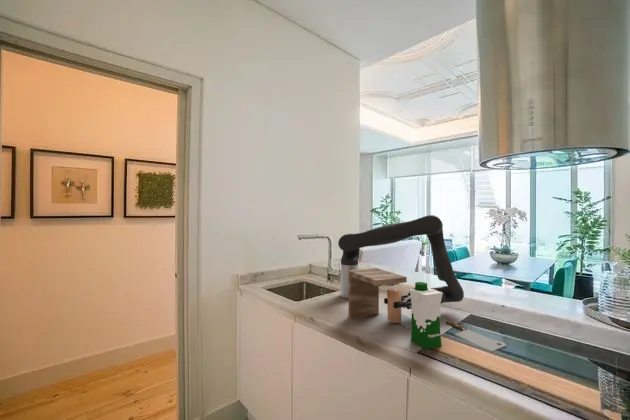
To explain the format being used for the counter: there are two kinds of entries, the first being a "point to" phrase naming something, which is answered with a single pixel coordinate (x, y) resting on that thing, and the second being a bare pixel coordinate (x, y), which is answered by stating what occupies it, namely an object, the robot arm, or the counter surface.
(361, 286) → the walnut shelf
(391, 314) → the peach cylinder
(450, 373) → the counter surface
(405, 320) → the slate mat
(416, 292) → the milk carton
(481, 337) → the kitchen cleaver
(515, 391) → the counter surface
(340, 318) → the counter surface
